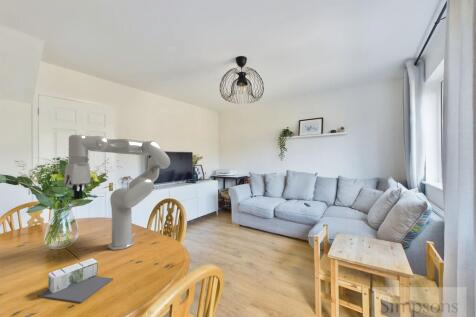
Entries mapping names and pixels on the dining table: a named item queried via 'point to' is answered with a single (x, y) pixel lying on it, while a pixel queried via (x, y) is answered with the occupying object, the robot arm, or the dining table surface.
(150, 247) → the dining table surface
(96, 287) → the mat
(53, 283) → the syrup box
